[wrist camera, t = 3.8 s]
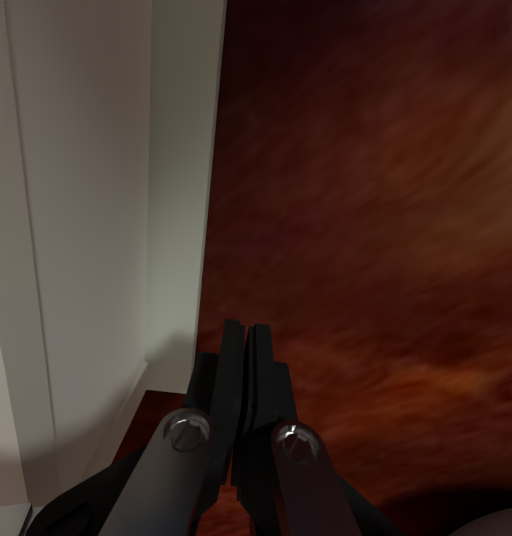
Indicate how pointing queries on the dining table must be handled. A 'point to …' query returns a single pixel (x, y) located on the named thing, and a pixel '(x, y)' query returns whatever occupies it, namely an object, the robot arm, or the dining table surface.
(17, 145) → the gate
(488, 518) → the soup bowl
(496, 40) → the dining table surface
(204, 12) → the base
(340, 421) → the dining table surface
